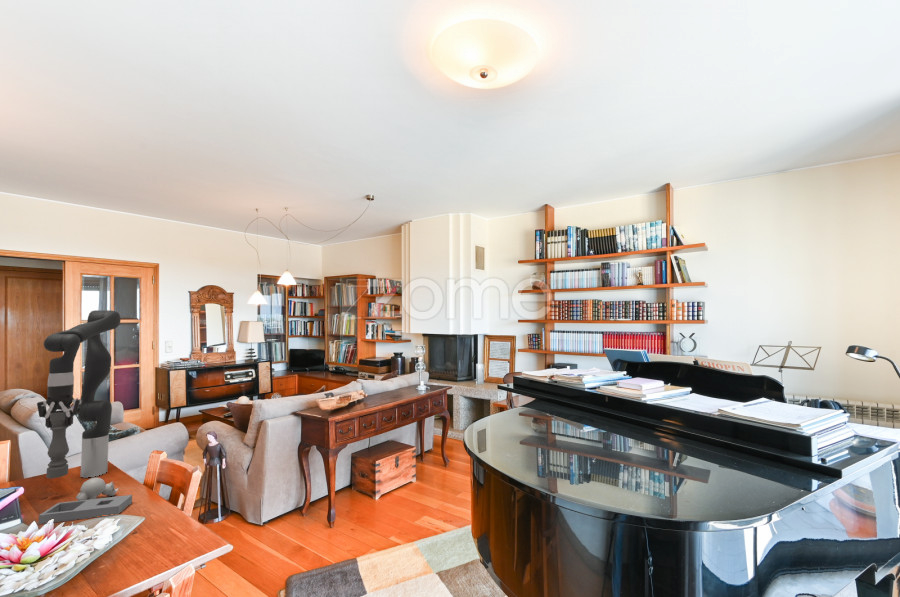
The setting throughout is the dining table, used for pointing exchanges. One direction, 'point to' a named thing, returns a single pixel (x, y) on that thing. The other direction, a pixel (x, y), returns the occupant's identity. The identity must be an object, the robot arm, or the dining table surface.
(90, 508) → the hole board
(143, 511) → the dining table surface
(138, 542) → the dining table surface
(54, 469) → the candle holder
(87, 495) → the toy rhinoceros
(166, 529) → the dining table surface
